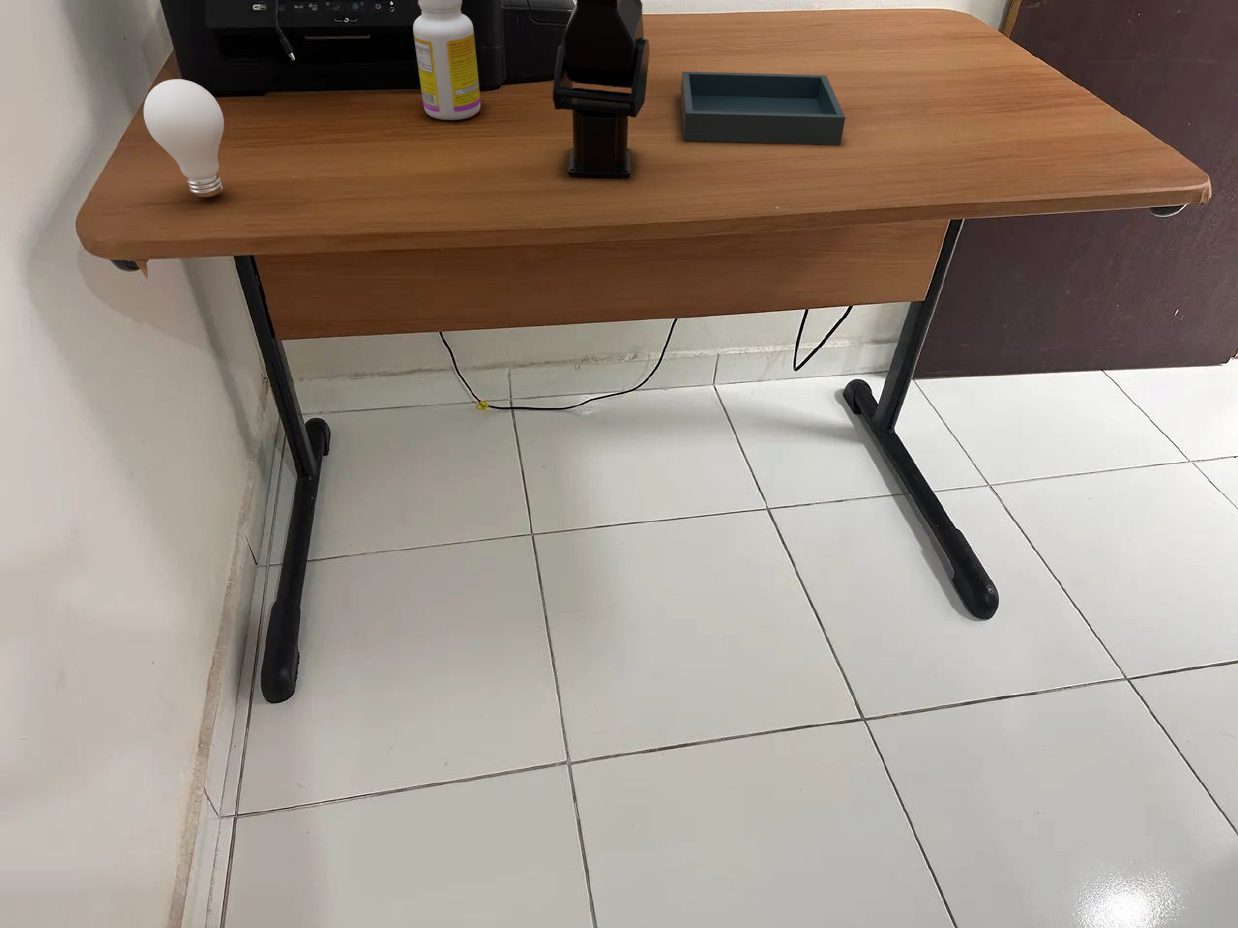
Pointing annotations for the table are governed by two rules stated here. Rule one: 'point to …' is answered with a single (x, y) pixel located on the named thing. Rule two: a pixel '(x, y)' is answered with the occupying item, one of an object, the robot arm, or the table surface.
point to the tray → (760, 108)
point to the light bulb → (188, 131)
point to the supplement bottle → (446, 60)
